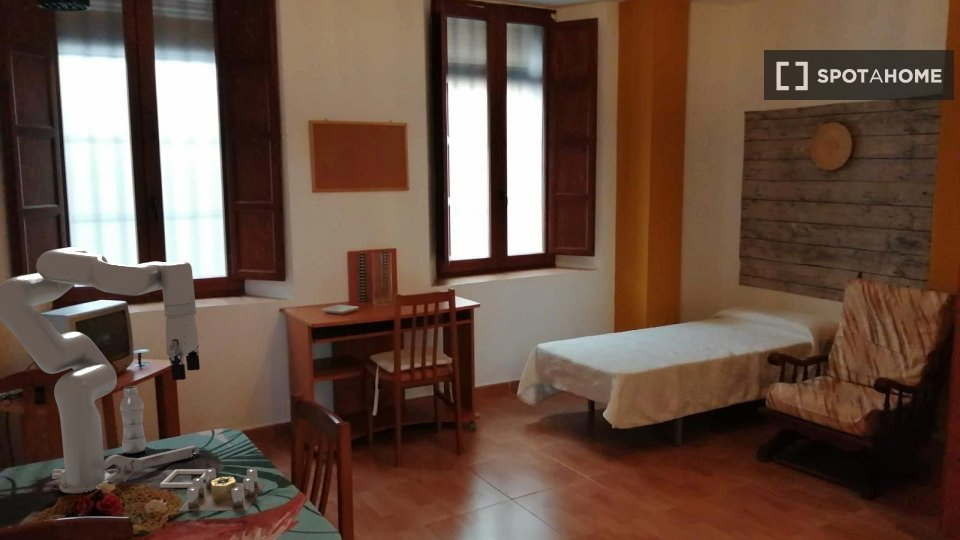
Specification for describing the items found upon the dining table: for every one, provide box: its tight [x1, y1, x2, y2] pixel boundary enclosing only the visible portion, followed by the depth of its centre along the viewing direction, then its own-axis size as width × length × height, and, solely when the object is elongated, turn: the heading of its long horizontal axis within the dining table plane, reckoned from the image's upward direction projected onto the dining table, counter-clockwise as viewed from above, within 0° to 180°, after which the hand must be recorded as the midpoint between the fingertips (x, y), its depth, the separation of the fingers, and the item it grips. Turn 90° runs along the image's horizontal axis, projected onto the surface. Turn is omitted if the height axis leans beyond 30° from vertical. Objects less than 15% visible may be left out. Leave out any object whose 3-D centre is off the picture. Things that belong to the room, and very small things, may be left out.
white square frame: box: [159, 468, 208, 489], centre depth 204 cm, size 10×10×2 cm
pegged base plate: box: [186, 467, 259, 509], centre depth 194 cm, size 16×15×4 cm
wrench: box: [102, 445, 200, 483], centre depth 214 cm, size 8×2×30 cm
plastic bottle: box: [119, 385, 147, 455], centre depth 227 cm, size 6×7×20 cm
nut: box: [211, 476, 237, 501], centre depth 194 cm, size 6×6×4 cm
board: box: [177, 482, 267, 512], centre depth 194 cm, size 17×17×1 cm
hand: (186, 374), depth 197 cm, fingers open, 9 cm apart
